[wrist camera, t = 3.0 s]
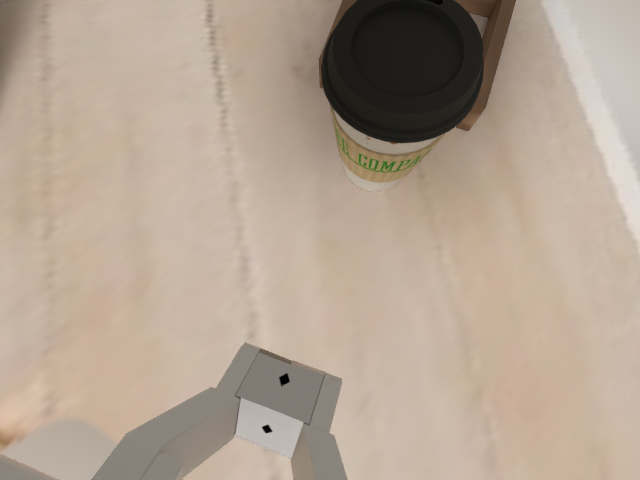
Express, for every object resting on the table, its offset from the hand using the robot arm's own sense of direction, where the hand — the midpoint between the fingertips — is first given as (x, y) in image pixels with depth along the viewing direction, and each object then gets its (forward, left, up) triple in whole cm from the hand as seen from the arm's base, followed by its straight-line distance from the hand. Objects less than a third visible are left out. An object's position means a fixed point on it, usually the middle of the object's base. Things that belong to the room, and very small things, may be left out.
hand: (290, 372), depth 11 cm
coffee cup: (0, +17, -22) cm, 28 cm away
